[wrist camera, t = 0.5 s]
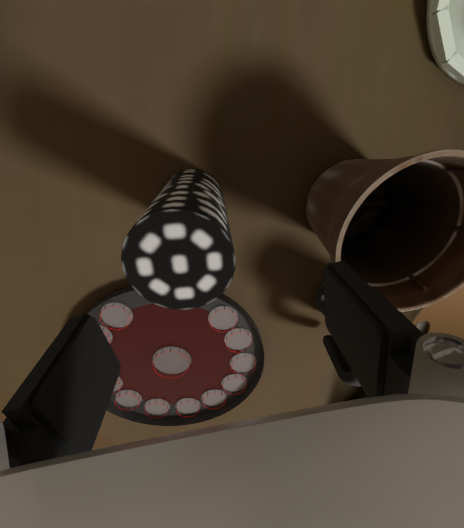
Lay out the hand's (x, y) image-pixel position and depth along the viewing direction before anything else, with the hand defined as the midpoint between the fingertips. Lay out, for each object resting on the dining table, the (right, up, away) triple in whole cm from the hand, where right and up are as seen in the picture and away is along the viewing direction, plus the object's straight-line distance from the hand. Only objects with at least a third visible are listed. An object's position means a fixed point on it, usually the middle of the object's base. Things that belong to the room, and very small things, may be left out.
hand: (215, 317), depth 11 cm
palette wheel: (-11, -16, +41) cm, 45 cm away
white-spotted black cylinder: (-5, +11, +27) cm, 29 cm away
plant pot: (+17, +12, +29) cm, 35 cm away
